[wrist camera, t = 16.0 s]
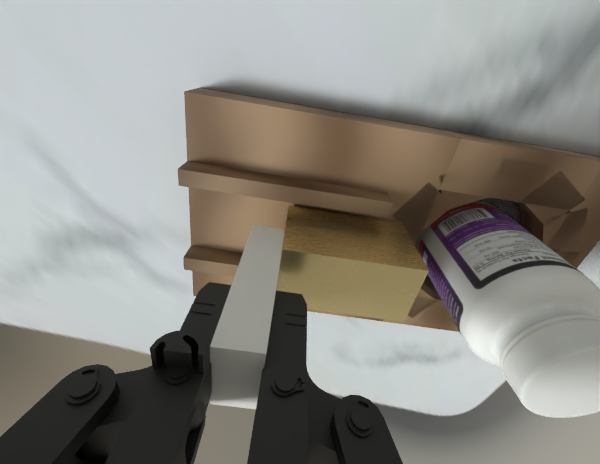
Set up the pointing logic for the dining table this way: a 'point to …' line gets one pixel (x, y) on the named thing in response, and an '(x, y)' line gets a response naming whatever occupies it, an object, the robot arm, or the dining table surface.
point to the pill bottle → (518, 307)
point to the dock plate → (365, 181)
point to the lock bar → (350, 264)
